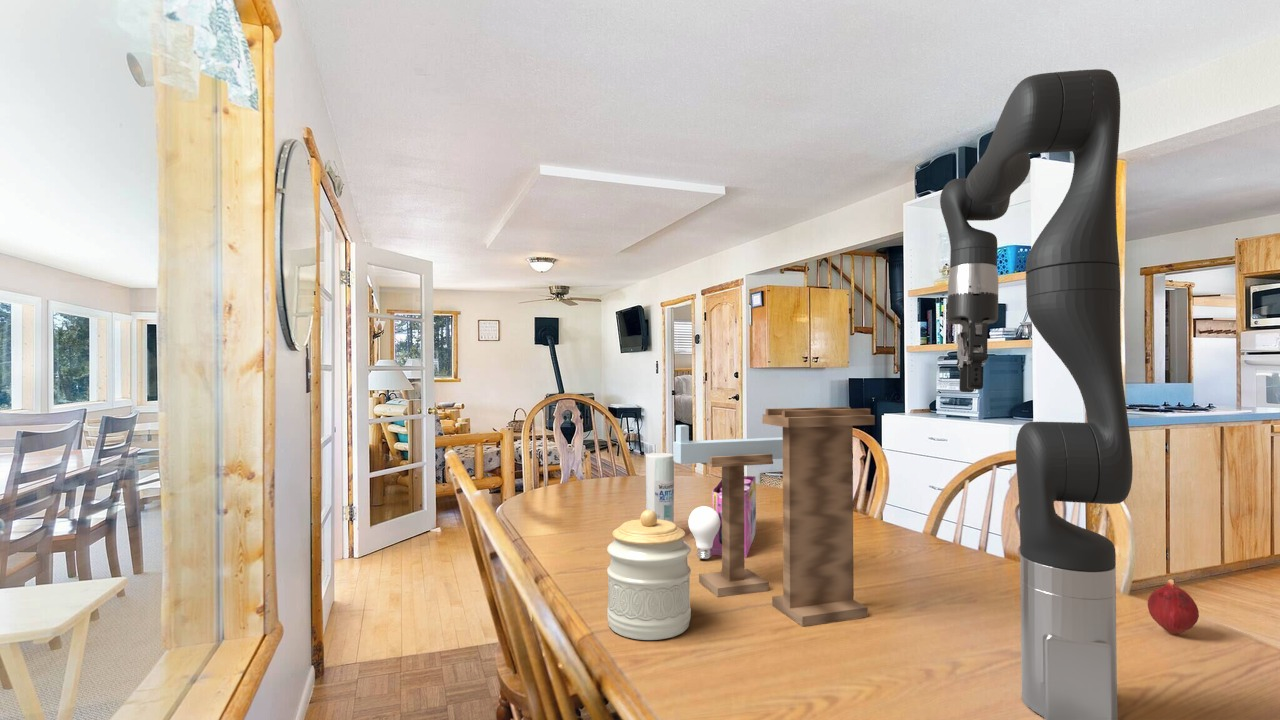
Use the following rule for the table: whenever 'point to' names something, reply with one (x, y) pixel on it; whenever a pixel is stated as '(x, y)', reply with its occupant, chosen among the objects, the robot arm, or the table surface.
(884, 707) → the table surface
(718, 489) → the gum box
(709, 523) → the light bulb
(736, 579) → the rest post
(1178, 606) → the onion
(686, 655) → the table surface
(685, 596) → the jar
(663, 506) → the spray can
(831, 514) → the shelf stand
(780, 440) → the hook bar
